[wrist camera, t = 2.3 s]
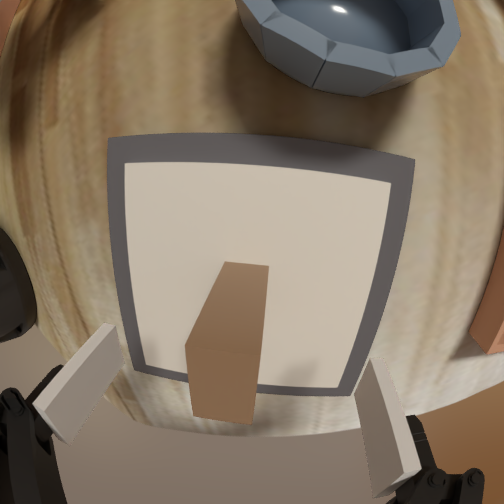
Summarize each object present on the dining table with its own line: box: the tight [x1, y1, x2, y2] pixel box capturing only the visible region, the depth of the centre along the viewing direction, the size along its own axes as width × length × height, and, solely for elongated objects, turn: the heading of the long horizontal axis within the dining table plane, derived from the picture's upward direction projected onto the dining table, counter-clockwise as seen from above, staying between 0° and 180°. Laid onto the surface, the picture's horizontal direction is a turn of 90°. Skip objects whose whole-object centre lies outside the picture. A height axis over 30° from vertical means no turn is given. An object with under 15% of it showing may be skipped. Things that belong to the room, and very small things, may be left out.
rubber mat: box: [107, 133, 415, 396], centre depth 20 cm, size 22×22×1 cm
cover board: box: [125, 162, 391, 425], centre depth 15 cm, size 18×18×10 cm
